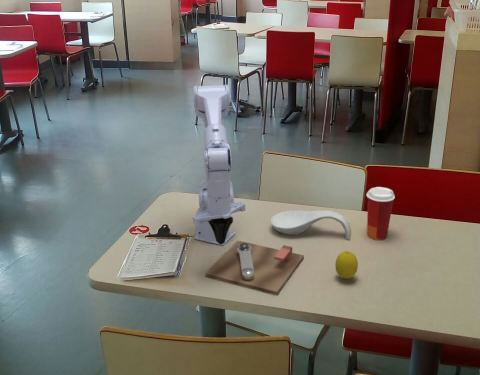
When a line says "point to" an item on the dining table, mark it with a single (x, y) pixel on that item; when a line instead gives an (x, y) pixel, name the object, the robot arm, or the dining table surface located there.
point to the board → (256, 269)
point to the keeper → (284, 253)
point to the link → (246, 261)
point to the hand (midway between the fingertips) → (220, 242)
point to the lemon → (346, 264)
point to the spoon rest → (305, 221)
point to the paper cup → (379, 212)
